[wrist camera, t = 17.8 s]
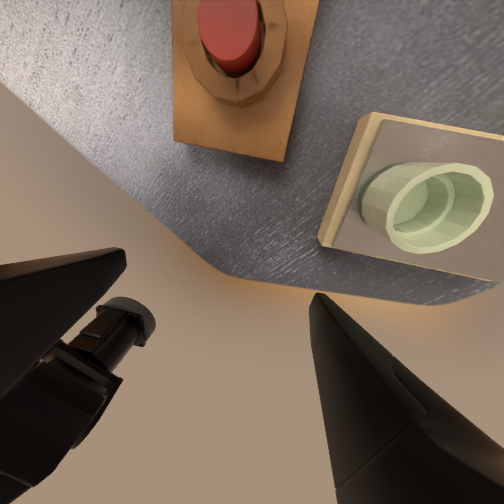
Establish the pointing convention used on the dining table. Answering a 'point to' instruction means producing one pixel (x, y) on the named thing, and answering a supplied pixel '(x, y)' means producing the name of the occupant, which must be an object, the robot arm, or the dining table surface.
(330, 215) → the scale
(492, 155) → the pan
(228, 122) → the block
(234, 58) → the tare button
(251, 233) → the dining table surface
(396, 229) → the mint green cup
